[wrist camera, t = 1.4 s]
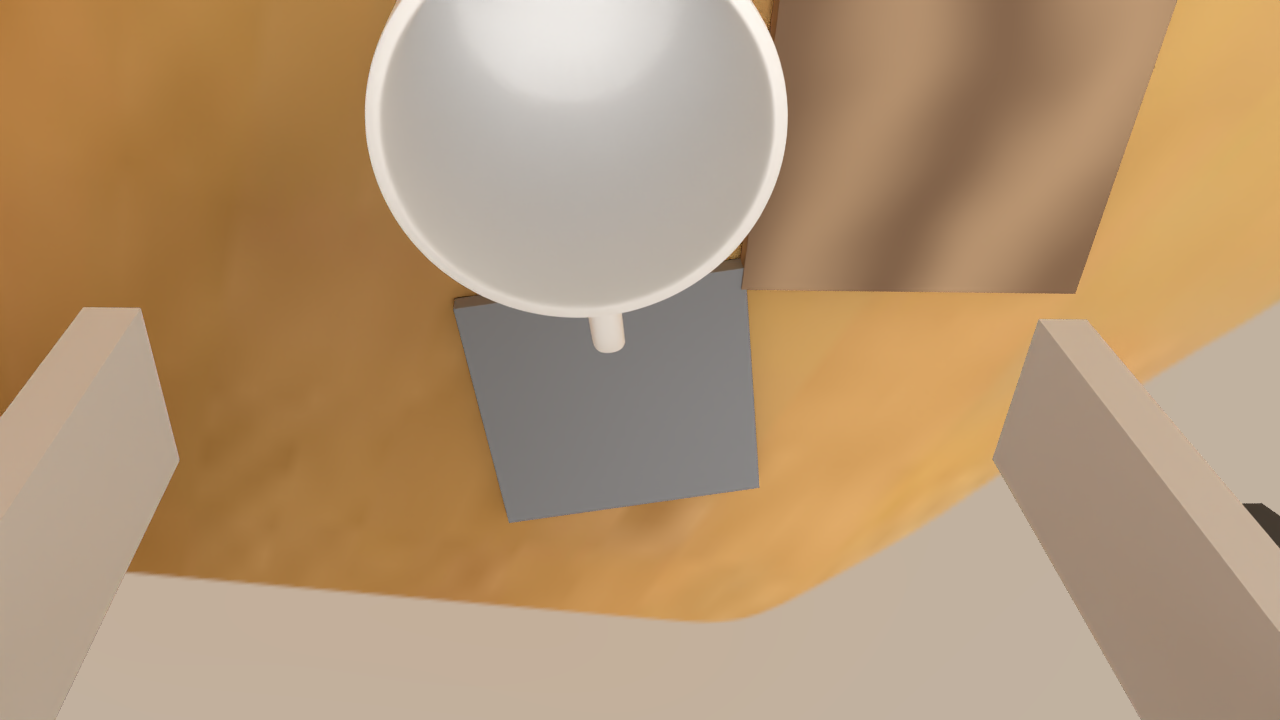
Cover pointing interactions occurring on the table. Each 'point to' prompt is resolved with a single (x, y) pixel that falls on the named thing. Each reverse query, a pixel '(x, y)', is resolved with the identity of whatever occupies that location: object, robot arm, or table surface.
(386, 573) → the table surface
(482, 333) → the slate coaster
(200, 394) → the table surface
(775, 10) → the walnut coaster
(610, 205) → the mug
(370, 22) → the table surface
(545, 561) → the table surface
